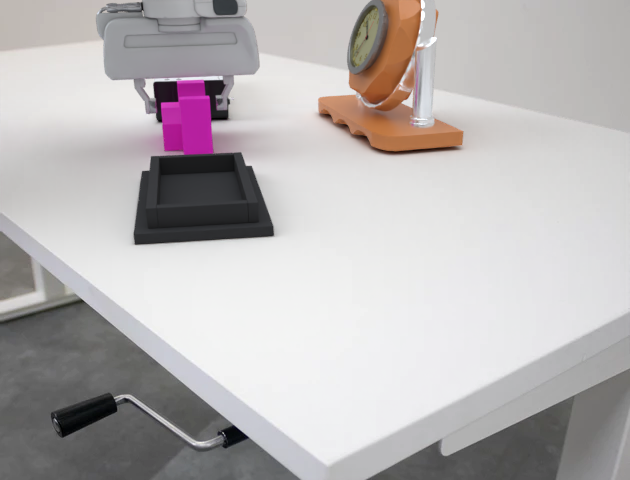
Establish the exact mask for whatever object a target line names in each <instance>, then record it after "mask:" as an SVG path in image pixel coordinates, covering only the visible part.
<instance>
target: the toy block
mask: <svg viewBox="0 0 630 480" xmlns="http://www.w3.org/2000/svg"><path fill="white" fill-rule="evenodd" d="M177 88H178V100H179V102H166V103H161V112H162V120H161V128H162V129H161V130H162V138H163V140H162V141H163V149H164V152H173V151H183V155H189V154H211V153H214V144H213V142H214V141H213V128H212V118H211V111H210V98H209V96H205V85H204V80H178V81H177Z"/></svg>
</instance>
